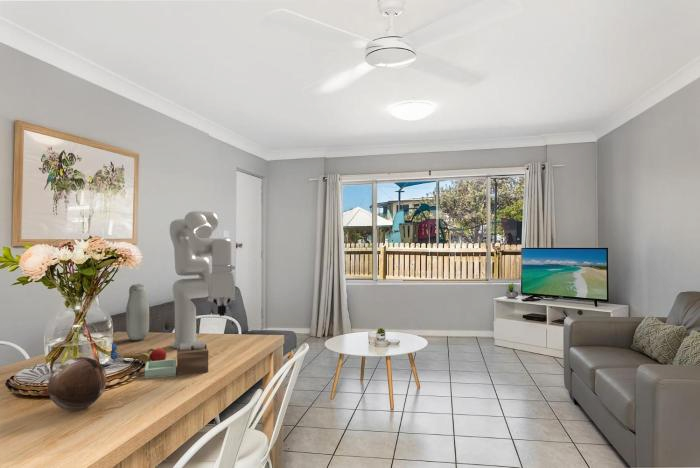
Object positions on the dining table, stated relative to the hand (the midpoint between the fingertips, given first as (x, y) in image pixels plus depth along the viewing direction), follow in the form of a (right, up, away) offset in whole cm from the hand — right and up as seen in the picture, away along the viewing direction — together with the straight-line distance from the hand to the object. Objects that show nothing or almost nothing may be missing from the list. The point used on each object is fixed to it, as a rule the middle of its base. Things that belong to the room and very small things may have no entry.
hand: (221, 315), depth 177 cm
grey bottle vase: (-56, -21, +46) cm, 75 cm away
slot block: (-10, -20, -4) cm, 23 cm away
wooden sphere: (-31, -20, -43) cm, 57 cm away
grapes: (-49, -21, +1) cm, 53 cm away
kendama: (-33, -21, +5) cm, 40 cm away
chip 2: (-8, -14, -3) cm, 17 cm away
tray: (-21, -20, -8) cm, 30 cm away
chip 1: (-13, -14, -5) cm, 20 cm away
